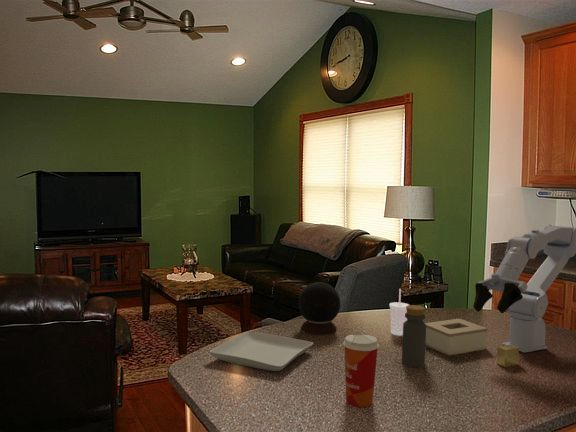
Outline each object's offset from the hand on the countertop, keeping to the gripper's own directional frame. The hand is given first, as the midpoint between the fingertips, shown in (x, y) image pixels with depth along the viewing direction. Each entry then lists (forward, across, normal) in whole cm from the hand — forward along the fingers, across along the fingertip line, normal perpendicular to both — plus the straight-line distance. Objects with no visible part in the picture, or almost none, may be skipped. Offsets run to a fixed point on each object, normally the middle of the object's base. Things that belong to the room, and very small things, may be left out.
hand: (487, 309), depth 140 cm
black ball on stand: (+21, -46, -11) cm, 52 cm away
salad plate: (+43, -33, -28) cm, 61 cm away
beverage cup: (+8, -32, +4) cm, 33 cm away
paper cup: (+43, +1, -20) cm, 47 cm away
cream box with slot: (+6, -16, +10) cm, 19 cm away
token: (+7, +1, +14) cm, 15 cm away
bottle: (+22, -11, -3) cm, 24 cm away
